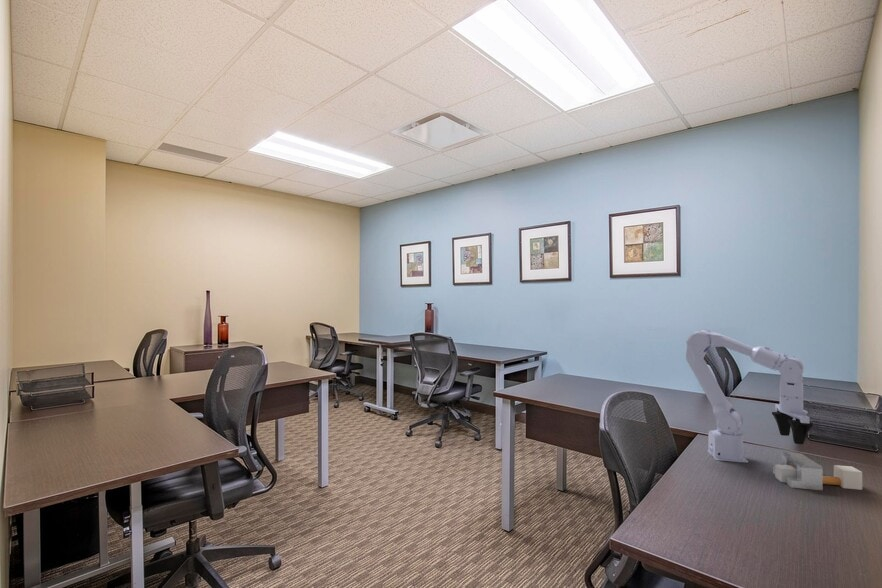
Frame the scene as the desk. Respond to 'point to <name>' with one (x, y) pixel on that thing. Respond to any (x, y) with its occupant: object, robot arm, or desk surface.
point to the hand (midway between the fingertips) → (791, 439)
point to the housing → (803, 471)
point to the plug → (842, 476)
